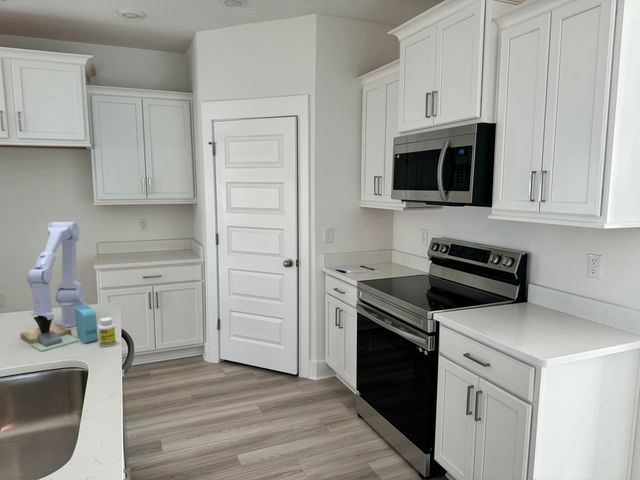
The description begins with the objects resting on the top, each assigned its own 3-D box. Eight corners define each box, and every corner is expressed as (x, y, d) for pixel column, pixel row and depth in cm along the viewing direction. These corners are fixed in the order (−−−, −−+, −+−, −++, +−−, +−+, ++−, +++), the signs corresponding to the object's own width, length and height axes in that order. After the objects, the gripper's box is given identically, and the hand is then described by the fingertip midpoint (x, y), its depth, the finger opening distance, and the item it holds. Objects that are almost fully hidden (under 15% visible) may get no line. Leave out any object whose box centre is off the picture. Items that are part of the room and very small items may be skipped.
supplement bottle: (100, 347, 162) (97, 322, 161) (99, 343, 167) (97, 318, 165) (116, 345, 164) (114, 319, 163) (115, 340, 169) (113, 315, 168)
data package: (98, 341, 169) (95, 310, 167) (85, 344, 166) (82, 313, 164) (89, 333, 178) (86, 304, 176) (77, 336, 175) (74, 306, 173)
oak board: (59, 328, 184) (58, 323, 183) (71, 334, 176) (71, 329, 176) (20, 338, 173) (20, 333, 173) (31, 345, 165) (31, 339, 165)
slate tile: (53, 334, 171) (53, 331, 170) (62, 342, 166) (61, 338, 166) (37, 338, 167) (37, 335, 166) (45, 346, 162) (45, 343, 161)
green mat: (68, 335, 175) (67, 334, 175) (79, 341, 168) (79, 340, 168) (30, 345, 165) (30, 344, 165) (41, 352, 158) (41, 350, 158)
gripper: (22, 298, 169) (26, 332, 171) (37, 305, 160) (40, 341, 162) (43, 295, 174) (46, 328, 176) (58, 301, 165) (61, 335, 167)
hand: (45, 334), depth 169 cm, fingers closed
